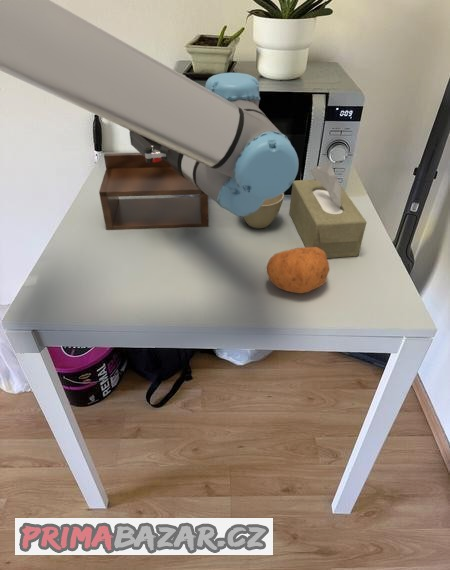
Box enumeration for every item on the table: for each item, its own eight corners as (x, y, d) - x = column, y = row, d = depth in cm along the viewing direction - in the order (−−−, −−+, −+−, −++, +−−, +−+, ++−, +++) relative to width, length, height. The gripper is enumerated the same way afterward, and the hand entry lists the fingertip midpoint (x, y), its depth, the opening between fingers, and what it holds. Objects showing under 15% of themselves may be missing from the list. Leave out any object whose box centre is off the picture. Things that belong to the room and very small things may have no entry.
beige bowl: (242, 208, 102) (243, 179, 98) (284, 215, 100) (288, 186, 96) (229, 230, 95) (230, 200, 90) (275, 238, 93) (278, 208, 88)
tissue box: (288, 212, 101) (296, 145, 91) (329, 209, 102) (342, 143, 92) (311, 260, 87) (324, 187, 77) (359, 257, 88) (377, 184, 78)
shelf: (106, 229, 95) (96, 178, 87) (112, 202, 104) (104, 153, 96) (208, 226, 96) (207, 175, 88) (206, 199, 105) (205, 151, 98)
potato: (330, 303, 77) (337, 269, 73) (266, 301, 78) (269, 267, 73) (322, 270, 84) (328, 238, 80) (263, 269, 85) (266, 236, 80)
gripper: (156, 193, 75) (103, 147, 90) (237, 169, 82) (175, 130, 97) (152, 150, 70) (96, 109, 85) (238, 129, 77) (173, 94, 92)
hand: (139, 120), depth 91 cm, fingers closed on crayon, 4 cm apart
